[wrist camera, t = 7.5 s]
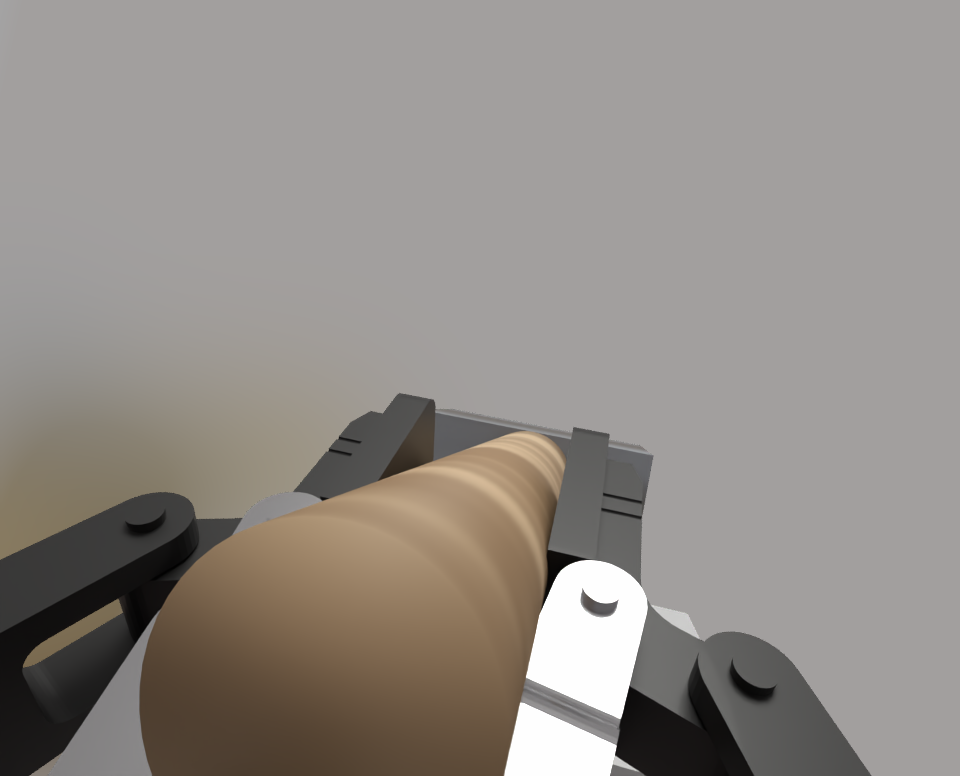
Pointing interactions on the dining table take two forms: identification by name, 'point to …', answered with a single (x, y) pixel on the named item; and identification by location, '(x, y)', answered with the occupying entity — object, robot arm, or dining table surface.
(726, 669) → the robot arm
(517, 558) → the mallet
